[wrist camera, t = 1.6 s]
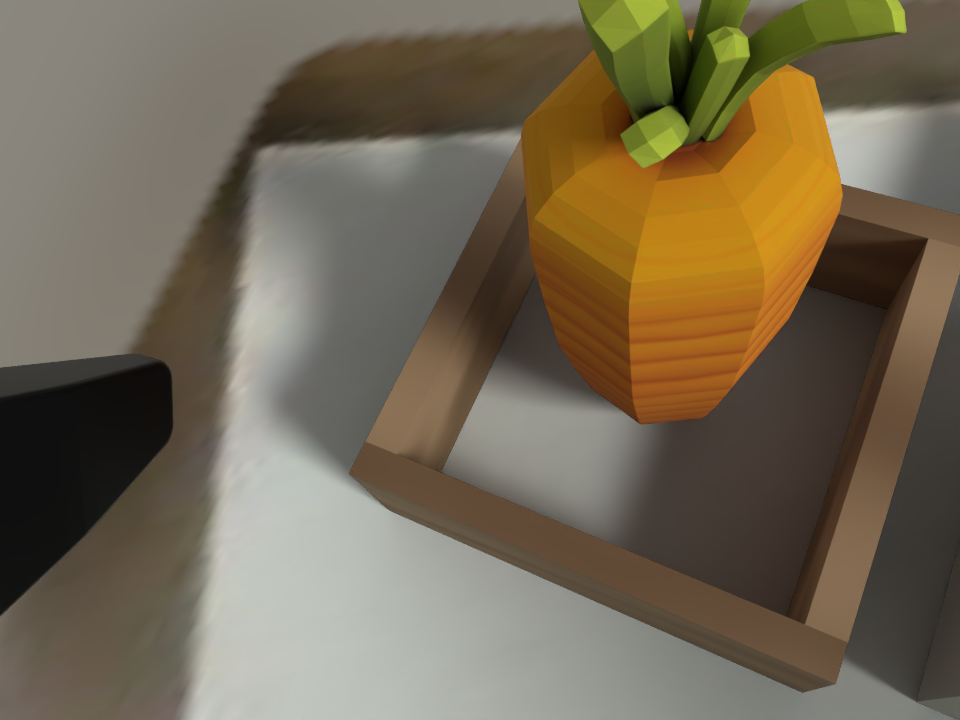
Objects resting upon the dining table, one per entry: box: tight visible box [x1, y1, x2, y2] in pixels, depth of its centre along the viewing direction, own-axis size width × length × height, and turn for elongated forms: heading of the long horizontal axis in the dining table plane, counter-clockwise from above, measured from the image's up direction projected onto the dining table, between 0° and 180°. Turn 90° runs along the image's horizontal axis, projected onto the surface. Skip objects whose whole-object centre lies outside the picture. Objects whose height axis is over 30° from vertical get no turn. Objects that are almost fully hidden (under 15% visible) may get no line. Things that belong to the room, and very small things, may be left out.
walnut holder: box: [349, 105, 960, 693], centre depth 21 cm, size 11×11×4 cm
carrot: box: [521, 0, 907, 424], centre depth 16 cm, size 5×5×15 cm
